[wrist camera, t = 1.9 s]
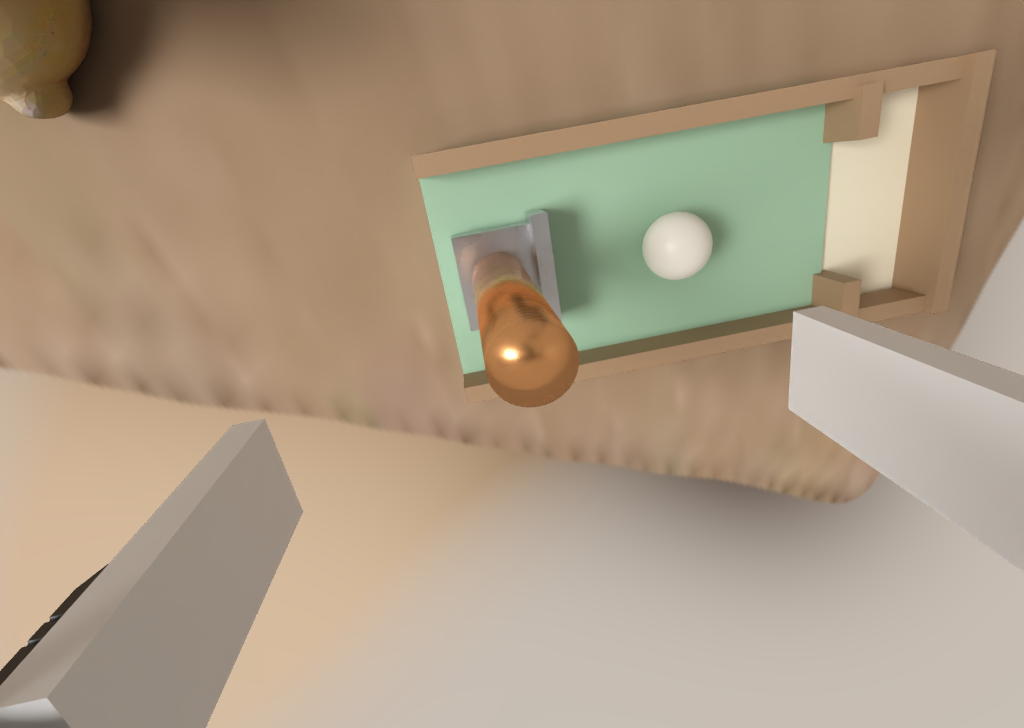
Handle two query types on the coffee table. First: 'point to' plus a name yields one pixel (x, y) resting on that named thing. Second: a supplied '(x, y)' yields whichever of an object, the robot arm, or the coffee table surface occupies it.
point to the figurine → (42, 53)
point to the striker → (517, 310)
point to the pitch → (731, 212)
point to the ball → (677, 245)
